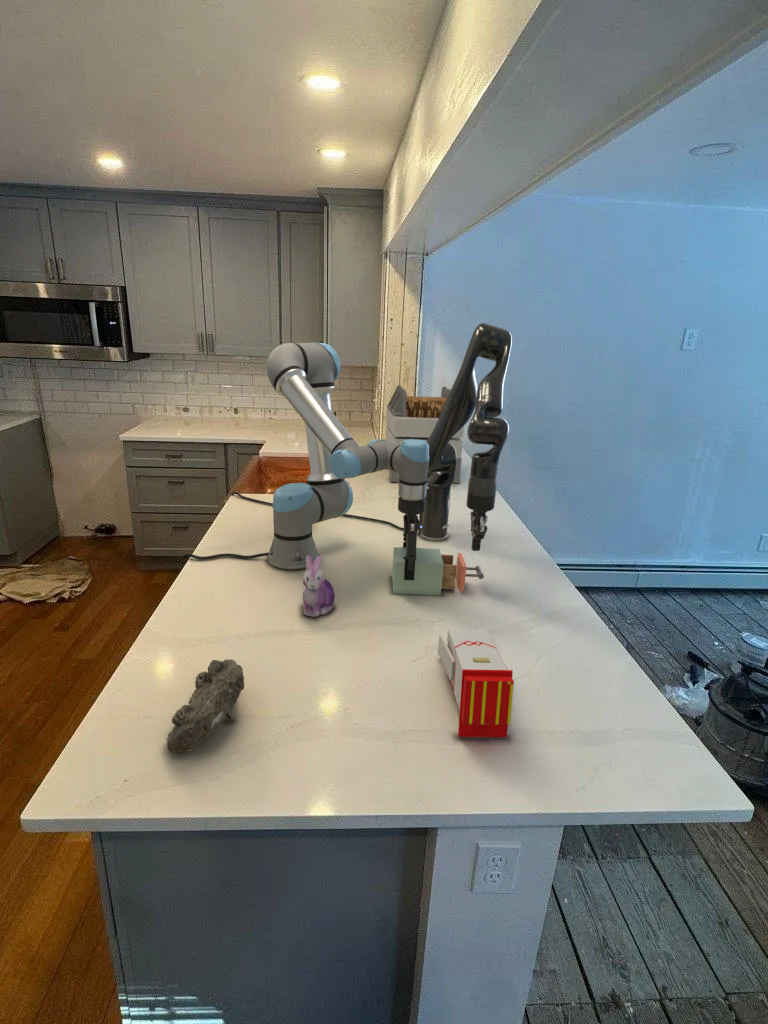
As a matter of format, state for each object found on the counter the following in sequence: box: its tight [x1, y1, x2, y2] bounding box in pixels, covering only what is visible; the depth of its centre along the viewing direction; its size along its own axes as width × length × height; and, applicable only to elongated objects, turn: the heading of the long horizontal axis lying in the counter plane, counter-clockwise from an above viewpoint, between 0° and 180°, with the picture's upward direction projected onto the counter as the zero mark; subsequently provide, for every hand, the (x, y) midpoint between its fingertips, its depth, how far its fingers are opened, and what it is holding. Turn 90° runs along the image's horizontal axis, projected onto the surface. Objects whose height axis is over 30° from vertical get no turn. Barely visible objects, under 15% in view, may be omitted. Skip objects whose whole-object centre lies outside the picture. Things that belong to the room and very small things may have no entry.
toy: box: [437, 628, 515, 738], centre depth 117 cm, size 12×13×30 cm
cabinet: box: [391, 546, 444, 596], centre depth 161 cm, size 13×10×10 cm
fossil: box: [166, 658, 245, 754], centre depth 106 cm, size 22×10×15 cm
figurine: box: [302, 554, 336, 617], centre depth 145 cm, size 9×10×15 cm
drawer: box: [441, 552, 485, 593], centre depth 162 cm, size 18×9×8 cm, turn 91°
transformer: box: [384, 384, 465, 484], centre depth 268 cm, size 34×33×41 cm
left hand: (407, 571), depth 161 cm, fingers closed on cabinet, 10 cm apart
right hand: (475, 549), depth 159 cm, fingers closed
